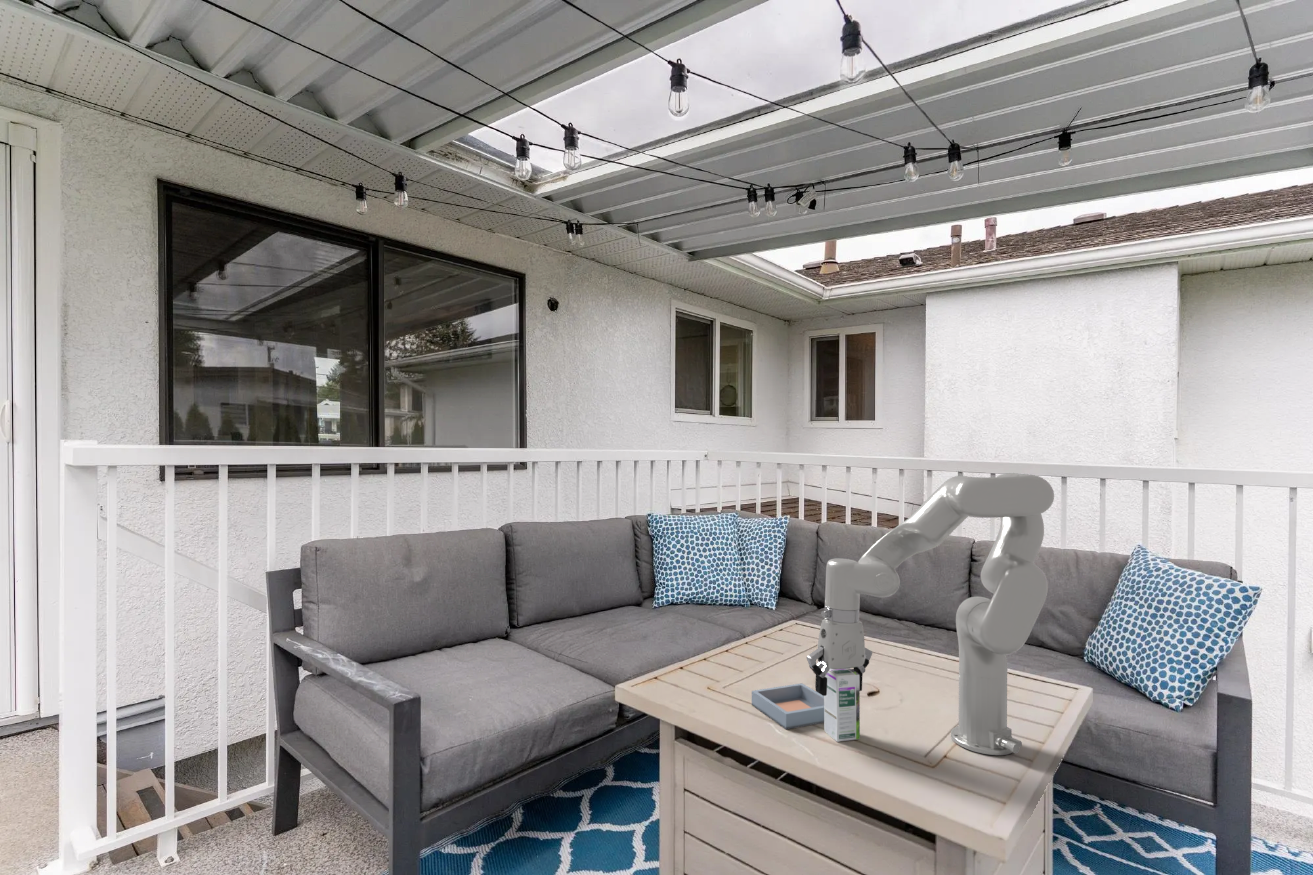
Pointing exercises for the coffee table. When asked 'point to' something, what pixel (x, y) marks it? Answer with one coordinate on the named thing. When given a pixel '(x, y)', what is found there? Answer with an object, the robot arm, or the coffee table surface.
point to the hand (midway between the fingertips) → (838, 691)
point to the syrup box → (842, 705)
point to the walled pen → (790, 705)
